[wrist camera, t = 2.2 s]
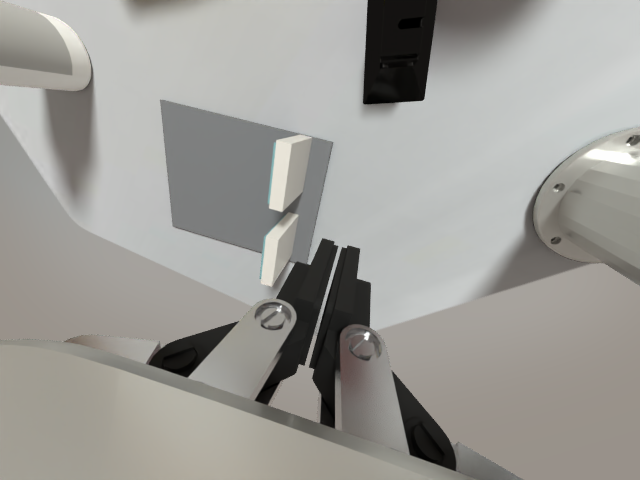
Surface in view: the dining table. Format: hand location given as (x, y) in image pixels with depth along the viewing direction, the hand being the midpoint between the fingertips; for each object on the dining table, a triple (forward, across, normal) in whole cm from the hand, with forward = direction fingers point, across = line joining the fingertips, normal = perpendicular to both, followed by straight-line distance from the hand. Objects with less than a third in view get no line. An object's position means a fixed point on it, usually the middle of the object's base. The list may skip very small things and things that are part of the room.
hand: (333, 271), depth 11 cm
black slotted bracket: (+19, 0, -12) cm, 23 cm away
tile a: (+18, +7, 0) cm, 19 cm away
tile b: (+18, +7, +9) cm, 21 cm away
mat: (+19, +14, +5) cm, 24 cm away
